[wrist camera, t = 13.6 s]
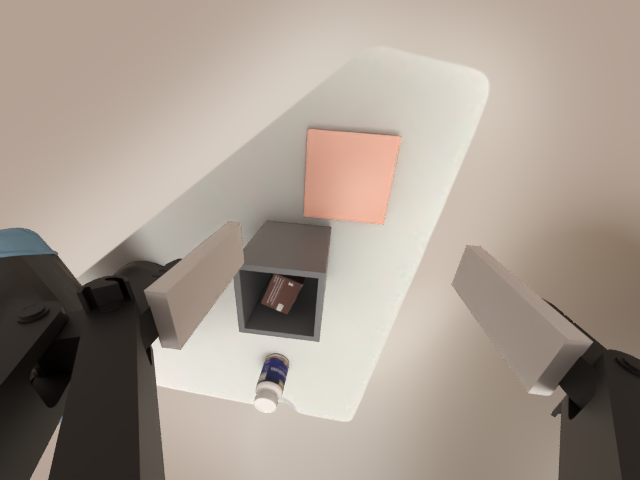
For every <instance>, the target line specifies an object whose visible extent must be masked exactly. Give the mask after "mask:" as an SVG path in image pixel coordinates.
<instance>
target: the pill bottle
mask: <svg viewBox="0 0 640 480" xmlns="http://www.w3.org/2000/svg"><path fill="white" fill-rule="evenodd" d="M288 368H289V362H288V360H287V359H286V358H285V357H283V356H281V355H278V354H273V355H270V356H268V357H267V358H266V360H265V363H264V365H263V368H262V371H261V374H260V377H259V380H258V383H257V386H256V394H257V395H256V397H255V400H254V406H255V408H256V409H257V410H259V411H261V412H264V413H271V412H274V411H275V410H276V408H277V404H278V399H280V398H281V396H282V393H283V389H284V385H285V380H286V376H287V372H288Z"/></svg>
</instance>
